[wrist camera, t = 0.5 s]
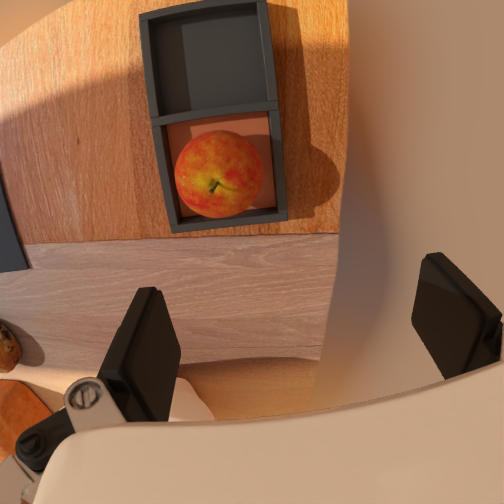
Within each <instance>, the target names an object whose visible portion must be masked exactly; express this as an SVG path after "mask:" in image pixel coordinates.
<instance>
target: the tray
mask: <svg viewBox="0 0 504 504" xmlns="http://www.w3.org/2000/svg"><path fill="white" fill-rule="evenodd" d="M139 27H140V38H141V49H142V58H143V67H144V76H145V84H146V91H147V99H148V106H149V113H150V118H151V126H152V133H153V139H154V145H155V151H156V157H157V163H158V168H159V174H160V179H161V185H162V190H163V195H164V200H165V205H166V210H167V215H168V220H169V224H170V228H171V233H172V234H174V233H182V232H190V231H199V230H207V229H216V228H225V227H234V226H243V225H252V224H262V223H272V222H282V221H288V213H287V212H288V211H287V197H286V183H285V170H284V158H283V146H282V135H281V124H280V113H279V104H278V93H277V84H276V74H275V65H274V57H273V48H272V40H271V32H270V24H269V16H268V8H267V2H266V0H203V1H197V2H192V3H186V4H181V5H176V6H171V7H167V8H162V9H158V10H154V11H150V12H146V13H142V14H139ZM214 130H226V131H231V132H234V133H237V134H239V135H241V136H243V137H244V138H246V139H247V140H249V141H250V142H251V143H252V144H253V146H254V147H255V148H256V150H257V151H258V153H259V155H260V157H261V160H262V163H263V169H264V178H263V183H262V187H261V190H260V192H259V194H258V196H257V198H256V199H255V200H254V202H253V203H252V204H251V205H250V206H249V207H248V208H247V209H245V210H244V211H242V212H241V213H238V214H236V215H233V216H229V217H224V218H210V217H206V216H203V215H200V214H198V213H196V212H195V211H193V210H192V209H191V208H189V207H188V206H187V205H186V204H185V202H184V201H183V200H182V198H181V197H180V195H179V193H178V190H177V187H176V183H175V166H176V163H177V159H178V157H179V155H180V153H181V151H182V150H183V148H184V147H185V146H186V145H187V144H188V143H189V142H190V141H191V140H192V139H194V138H195V137H197V136H198V135H200V134H203V133H205V132H208V131H214Z"/></svg>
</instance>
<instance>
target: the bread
mask: <svg viewBox="0 0 504 504" xmlns="http://www.w3.org/2000/svg"><path fill="white" fill-rule="evenodd" d="M51 415H52V413H51V411H50V410H49V409H48V408H47V407H46V406H45V405H44V404H43V403H42V402H41V401H40V400H39V399H38V397H37V396H36V395H35V394H34V393H33V392H32V391H31V390H30V389H29V388H28V387H27V386H25V385H23V384H22V383H20V382H18V381H9V380H0V463H1V462H2V461H3V460H4V459H5V458H6V457H7V456H8V455H9V454H11V455H12V456H14V455H15V454H16V453H15V444H16V441H17V439H18V437H19V436H20V435H21V433H22V432H24V431H25V430H26V429H28V428H30V427H32V426H33V425H35V424H37V423H39V422H40V421H42V420H44V419H46V418H47V417H49V416H51Z"/></svg>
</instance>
